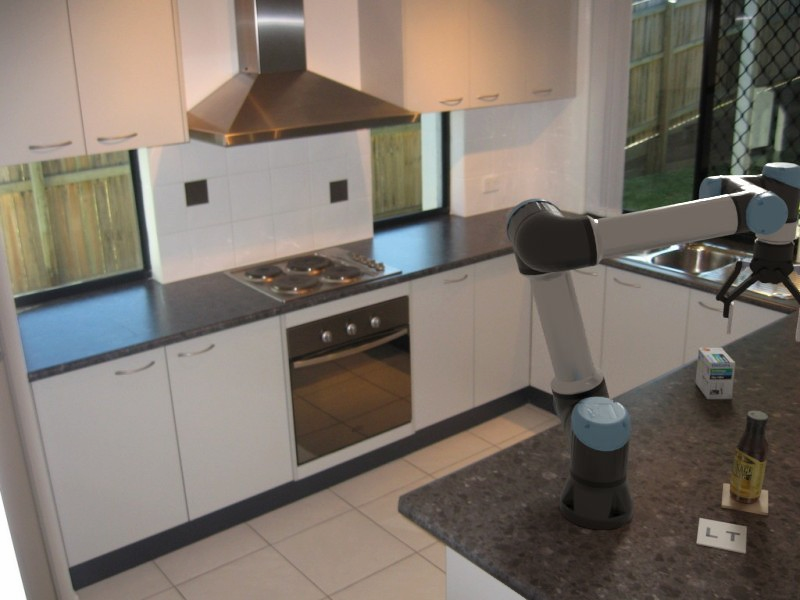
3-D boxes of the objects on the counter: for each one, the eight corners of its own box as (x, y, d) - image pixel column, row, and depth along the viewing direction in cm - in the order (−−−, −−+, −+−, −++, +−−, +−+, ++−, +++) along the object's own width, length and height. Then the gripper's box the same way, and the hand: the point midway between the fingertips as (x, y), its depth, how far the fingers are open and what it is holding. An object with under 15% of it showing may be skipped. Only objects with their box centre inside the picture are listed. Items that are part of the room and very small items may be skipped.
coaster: (721, 507, 178) (721, 504, 178) (723, 485, 186) (723, 483, 186) (767, 515, 175) (768, 513, 175) (767, 492, 183) (767, 490, 182)
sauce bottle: (722, 493, 182) (731, 410, 175) (744, 486, 184) (755, 404, 177) (745, 508, 176) (755, 423, 170) (768, 501, 178) (779, 417, 172)
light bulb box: (732, 399, 225) (736, 362, 221) (706, 400, 225) (710, 362, 221) (718, 382, 235) (722, 346, 231) (694, 383, 235) (697, 347, 231)
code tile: (696, 544, 166) (696, 542, 166) (699, 519, 174) (699, 517, 174) (745, 553, 163) (745, 552, 163) (746, 527, 171) (746, 526, 171)
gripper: (841, 239, 172) (826, 336, 179) (711, 230, 181) (702, 322, 188) (844, 249, 166) (828, 349, 173) (709, 239, 175) (699, 334, 182)
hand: (762, 335), depth 181 cm, fingers open, 13 cm apart
